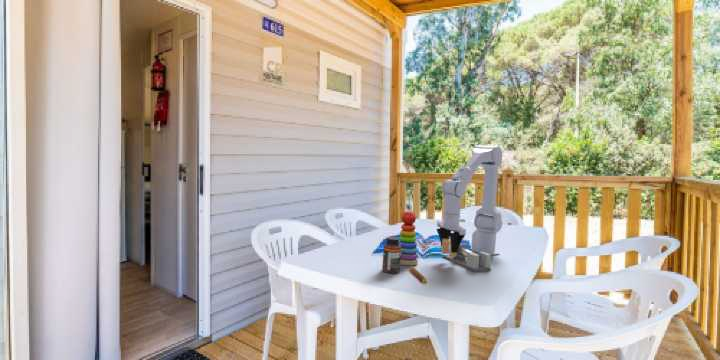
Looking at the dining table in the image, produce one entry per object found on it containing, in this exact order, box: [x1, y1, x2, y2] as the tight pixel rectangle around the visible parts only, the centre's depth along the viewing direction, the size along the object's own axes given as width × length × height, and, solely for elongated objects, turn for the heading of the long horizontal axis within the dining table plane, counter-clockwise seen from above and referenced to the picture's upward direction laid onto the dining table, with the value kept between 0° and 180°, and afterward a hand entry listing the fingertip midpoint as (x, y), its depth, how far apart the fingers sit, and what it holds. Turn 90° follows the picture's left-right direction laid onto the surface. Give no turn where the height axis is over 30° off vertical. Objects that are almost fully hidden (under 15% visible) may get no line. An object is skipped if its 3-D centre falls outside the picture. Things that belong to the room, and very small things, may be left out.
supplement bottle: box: [382, 236, 401, 274], centre depth 130 cm, size 6×6×11 cm
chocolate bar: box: [408, 265, 428, 284], centre depth 126 cm, size 3×12×2 cm, turn 12°
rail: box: [443, 251, 492, 273], centre depth 144 cm, size 18×7×6 cm, turn 23°
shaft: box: [453, 243, 481, 261], centre depth 144 cm, size 12×5×5 cm, turn 23°
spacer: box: [441, 237, 457, 257], centre depth 142 cm, size 3×5×6 cm, turn 23°
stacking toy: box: [398, 210, 419, 267], centre depth 140 cm, size 8×8×19 cm
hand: (449, 250), depth 143 cm, fingers closed on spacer, 5 cm apart
